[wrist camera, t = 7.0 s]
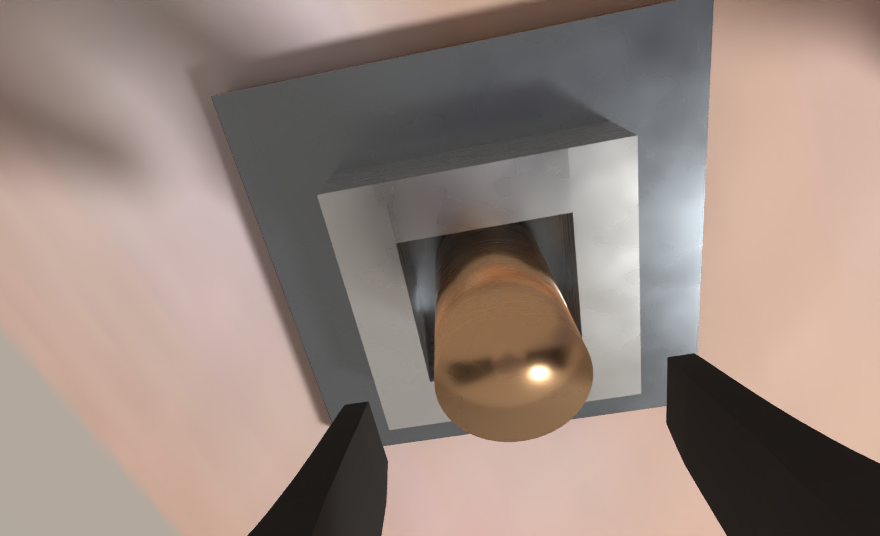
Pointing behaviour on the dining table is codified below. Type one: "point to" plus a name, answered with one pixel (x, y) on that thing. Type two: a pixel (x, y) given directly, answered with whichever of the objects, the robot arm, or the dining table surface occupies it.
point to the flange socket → (488, 198)
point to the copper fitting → (505, 338)
